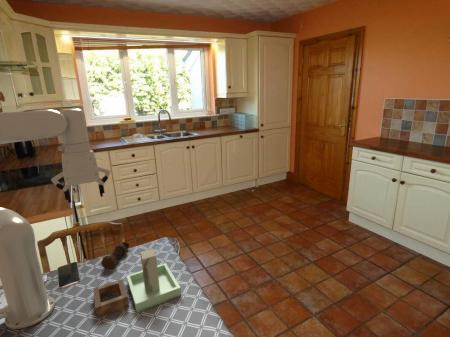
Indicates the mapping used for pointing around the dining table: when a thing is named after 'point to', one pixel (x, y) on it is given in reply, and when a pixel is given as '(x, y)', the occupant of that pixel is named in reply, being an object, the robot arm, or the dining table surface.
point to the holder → (113, 303)
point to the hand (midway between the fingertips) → (86, 198)
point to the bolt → (114, 256)
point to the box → (150, 270)
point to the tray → (166, 292)
